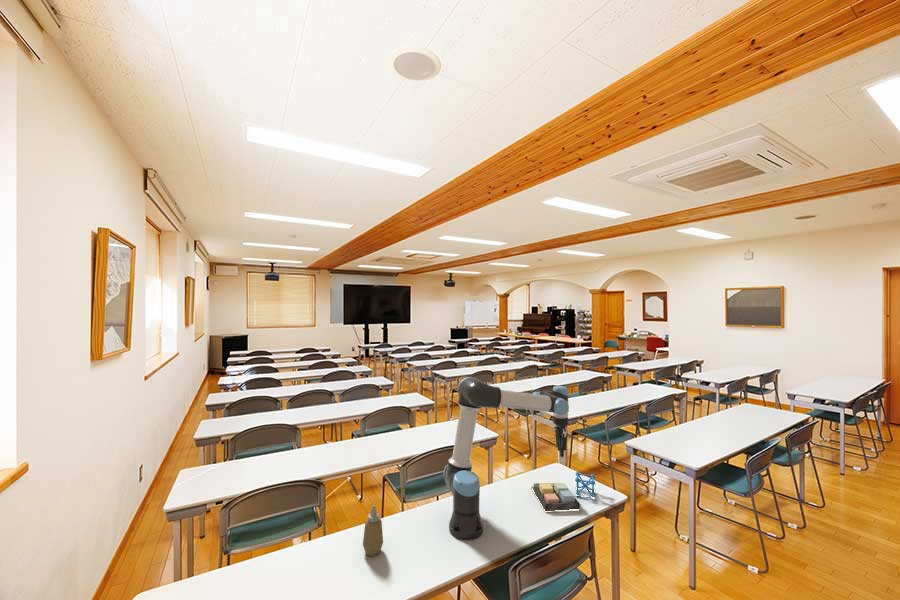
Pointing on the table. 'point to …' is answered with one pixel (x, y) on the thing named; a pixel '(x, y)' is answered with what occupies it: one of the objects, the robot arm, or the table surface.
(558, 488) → the sage key
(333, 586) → the table surface
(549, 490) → the mustard key
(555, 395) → the robot arm
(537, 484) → the keypad
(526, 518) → the table surface
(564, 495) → the slate key
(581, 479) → the molecular structure
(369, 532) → the squeeze bottle
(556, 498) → the terracotta key
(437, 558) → the table surface
